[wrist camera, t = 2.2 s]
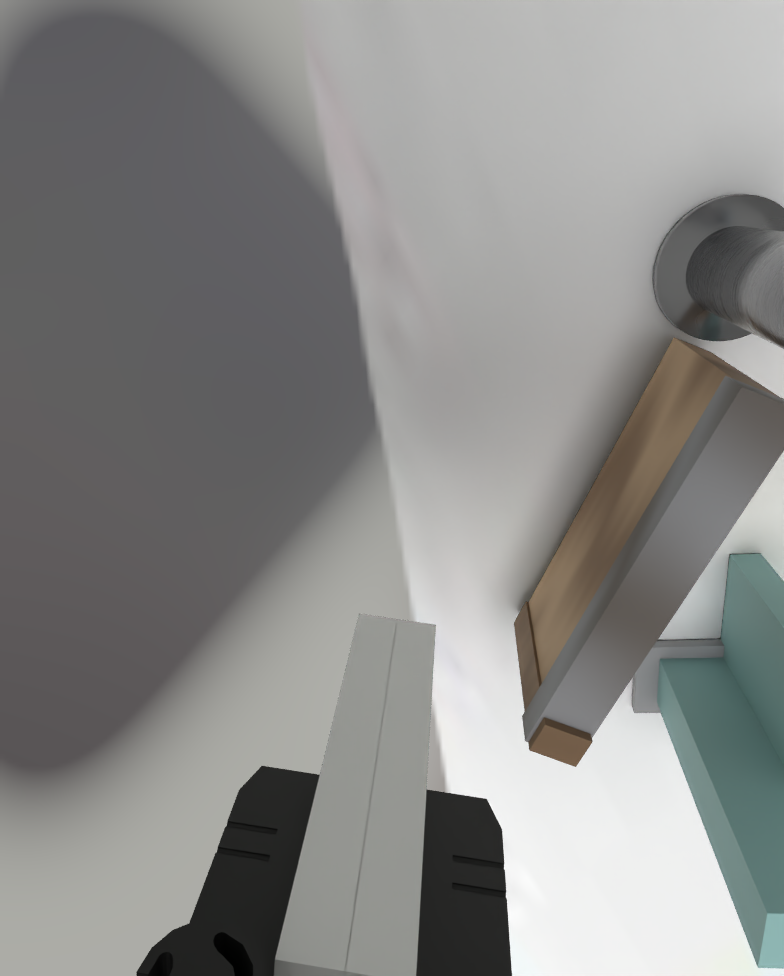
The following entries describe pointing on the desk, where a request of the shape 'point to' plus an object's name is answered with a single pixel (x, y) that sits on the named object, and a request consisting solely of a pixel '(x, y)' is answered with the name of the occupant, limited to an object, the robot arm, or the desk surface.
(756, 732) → the stile
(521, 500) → the desk surface
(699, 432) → the gate
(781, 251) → the hinge post
